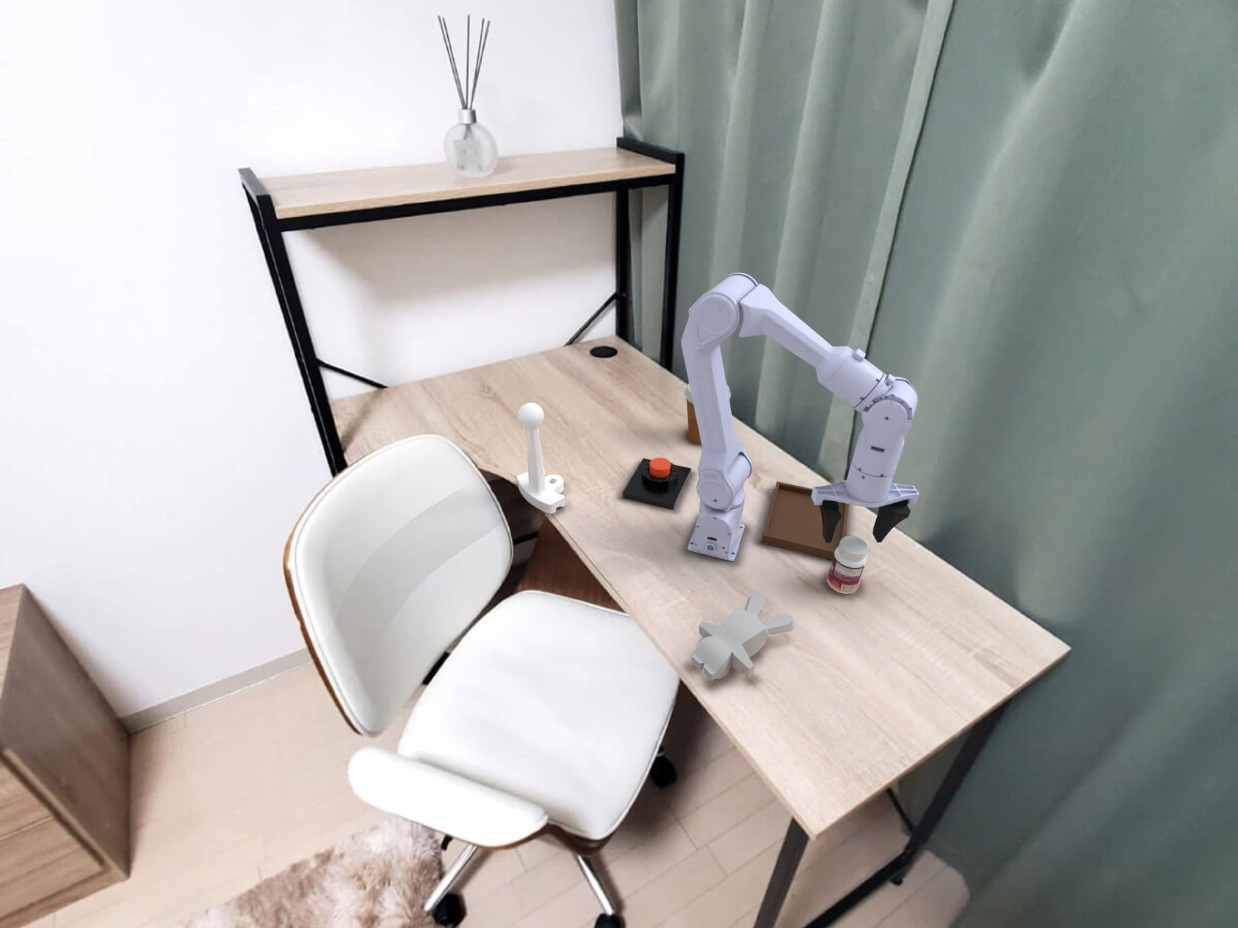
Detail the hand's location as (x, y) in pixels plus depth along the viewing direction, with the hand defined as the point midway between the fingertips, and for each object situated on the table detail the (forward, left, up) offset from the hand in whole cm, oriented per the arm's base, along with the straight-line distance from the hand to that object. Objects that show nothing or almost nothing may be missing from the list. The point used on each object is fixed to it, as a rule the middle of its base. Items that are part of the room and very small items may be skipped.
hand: (851, 538), depth 91 cm
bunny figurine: (-19, +13, -9) cm, 24 cm away
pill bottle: (-1, 0, -9) cm, 9 cm away
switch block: (+13, +35, -9) cm, 38 cm away
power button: (+14, +35, -6) cm, 38 cm away
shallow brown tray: (+12, +7, -9) cm, 16 cm away
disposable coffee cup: (+33, +31, -9) cm, 46 cm away
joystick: (+3, +54, -9) cm, 54 cm away
